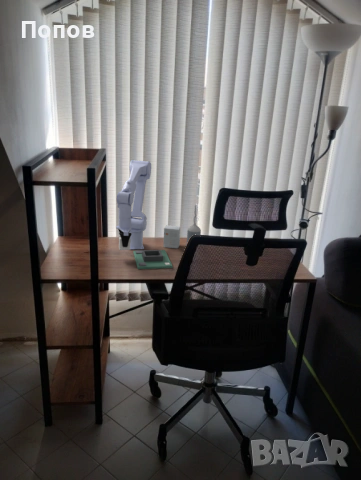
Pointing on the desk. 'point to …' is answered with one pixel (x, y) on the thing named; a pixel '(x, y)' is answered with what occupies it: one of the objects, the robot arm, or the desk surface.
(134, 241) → the robot arm
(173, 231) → the small box
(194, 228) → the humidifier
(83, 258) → the desk surface
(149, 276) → the desk surface
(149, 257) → the board
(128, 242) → the plug block
